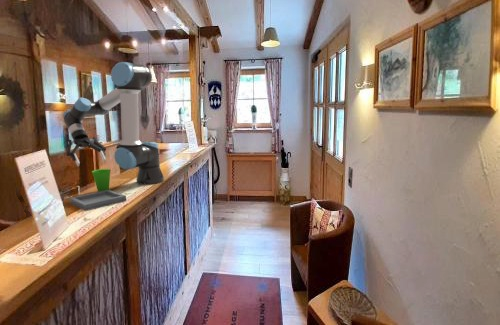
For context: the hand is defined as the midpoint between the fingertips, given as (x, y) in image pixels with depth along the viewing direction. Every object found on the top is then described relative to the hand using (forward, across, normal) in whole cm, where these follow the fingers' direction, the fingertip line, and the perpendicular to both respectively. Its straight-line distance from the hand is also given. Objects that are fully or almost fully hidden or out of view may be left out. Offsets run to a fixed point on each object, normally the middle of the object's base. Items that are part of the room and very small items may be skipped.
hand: (92, 162), depth 171 cm
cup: (+17, 0, -3) cm, 18 cm away
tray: (+30, +10, +10) cm, 33 cm away
